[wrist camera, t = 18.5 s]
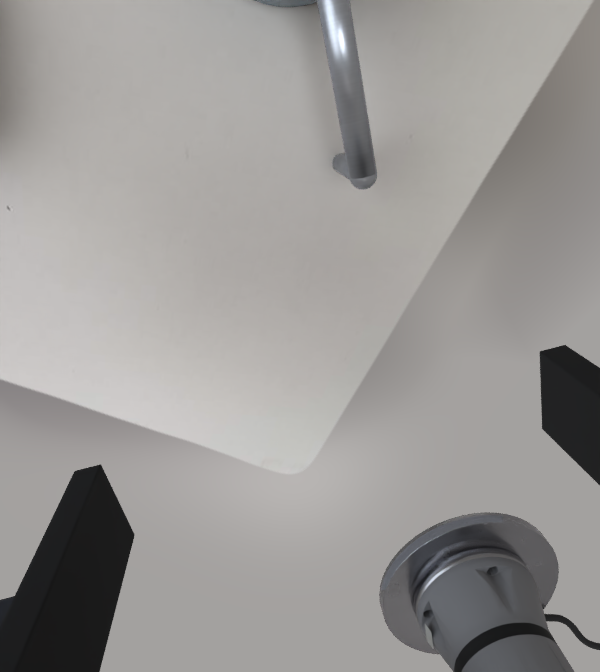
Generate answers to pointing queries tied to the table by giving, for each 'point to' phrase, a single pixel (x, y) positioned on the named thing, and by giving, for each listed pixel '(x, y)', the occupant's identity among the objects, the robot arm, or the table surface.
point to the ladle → (348, 94)
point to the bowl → (287, 2)
